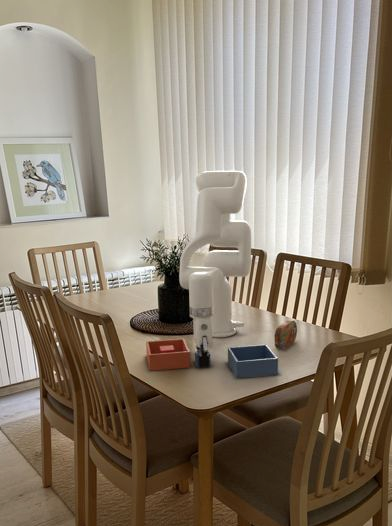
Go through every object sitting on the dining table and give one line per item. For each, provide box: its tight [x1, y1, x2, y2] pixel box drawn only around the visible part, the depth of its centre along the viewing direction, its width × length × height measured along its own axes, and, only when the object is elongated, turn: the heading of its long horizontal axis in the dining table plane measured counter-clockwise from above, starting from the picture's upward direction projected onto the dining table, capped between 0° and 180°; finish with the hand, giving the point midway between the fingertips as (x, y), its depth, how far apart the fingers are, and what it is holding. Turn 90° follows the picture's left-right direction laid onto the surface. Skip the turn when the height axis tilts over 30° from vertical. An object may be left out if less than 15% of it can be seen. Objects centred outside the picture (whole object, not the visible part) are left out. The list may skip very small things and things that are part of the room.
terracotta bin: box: [145, 338, 191, 372], centre depth 183 cm, size 13×13×6 cm
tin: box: [274, 320, 298, 351], centre depth 195 cm, size 15×3×8 cm, turn 148°
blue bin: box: [227, 344, 279, 379], centre depth 176 cm, size 13×13×6 cm
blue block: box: [194, 349, 211, 368], centre depth 181 cm, size 4×4×4 cm
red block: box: [160, 345, 175, 353], centre depth 183 cm, size 4×4×4 cm
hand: (202, 363), depth 181 cm, fingers closed on blue block, 4 cm apart
